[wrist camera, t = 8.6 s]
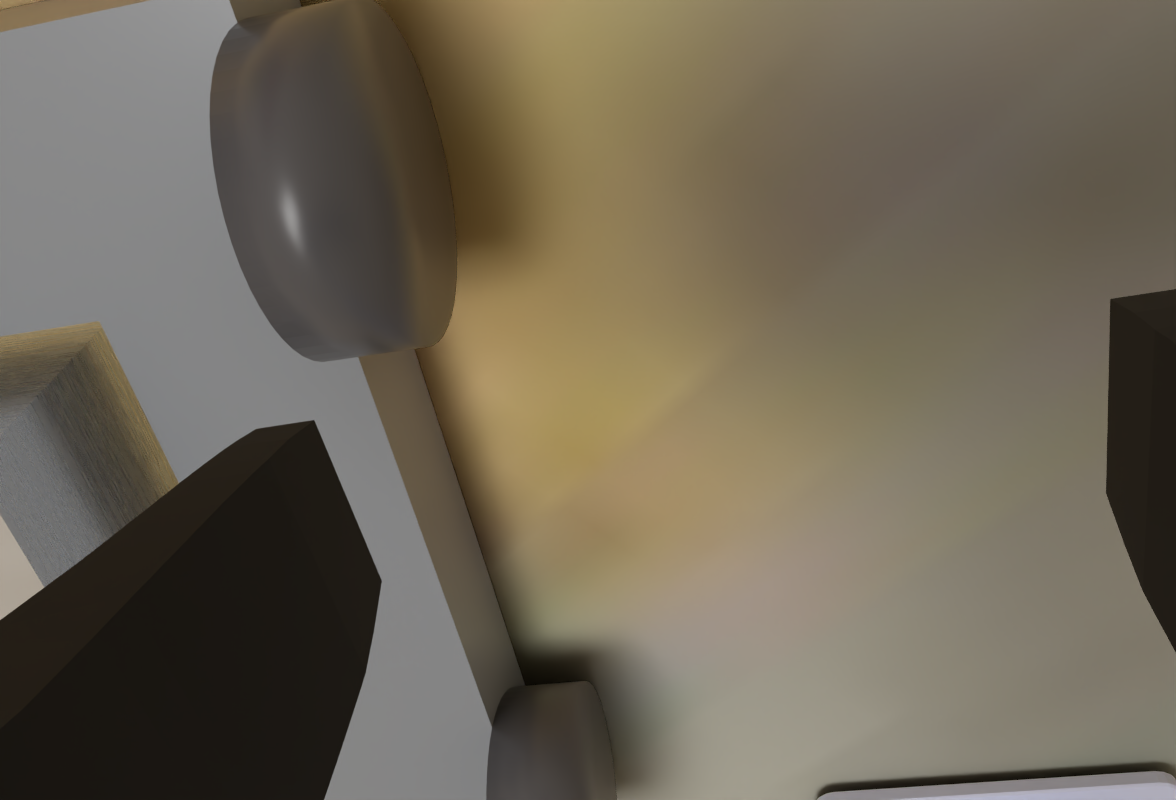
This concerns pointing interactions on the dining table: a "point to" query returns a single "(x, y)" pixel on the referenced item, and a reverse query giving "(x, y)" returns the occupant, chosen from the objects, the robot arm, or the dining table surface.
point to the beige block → (68, 455)
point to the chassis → (286, 324)
